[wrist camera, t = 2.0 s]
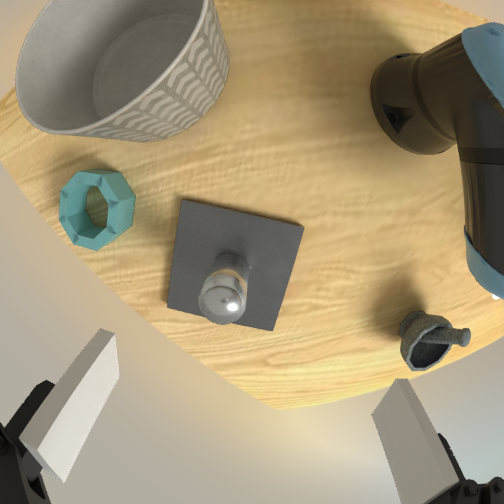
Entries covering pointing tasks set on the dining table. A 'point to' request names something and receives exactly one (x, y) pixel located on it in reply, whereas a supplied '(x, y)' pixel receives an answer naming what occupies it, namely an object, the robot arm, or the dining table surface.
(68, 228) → the ring
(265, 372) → the dining table surface
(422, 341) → the mortar and pestle
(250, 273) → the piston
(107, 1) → the planter
